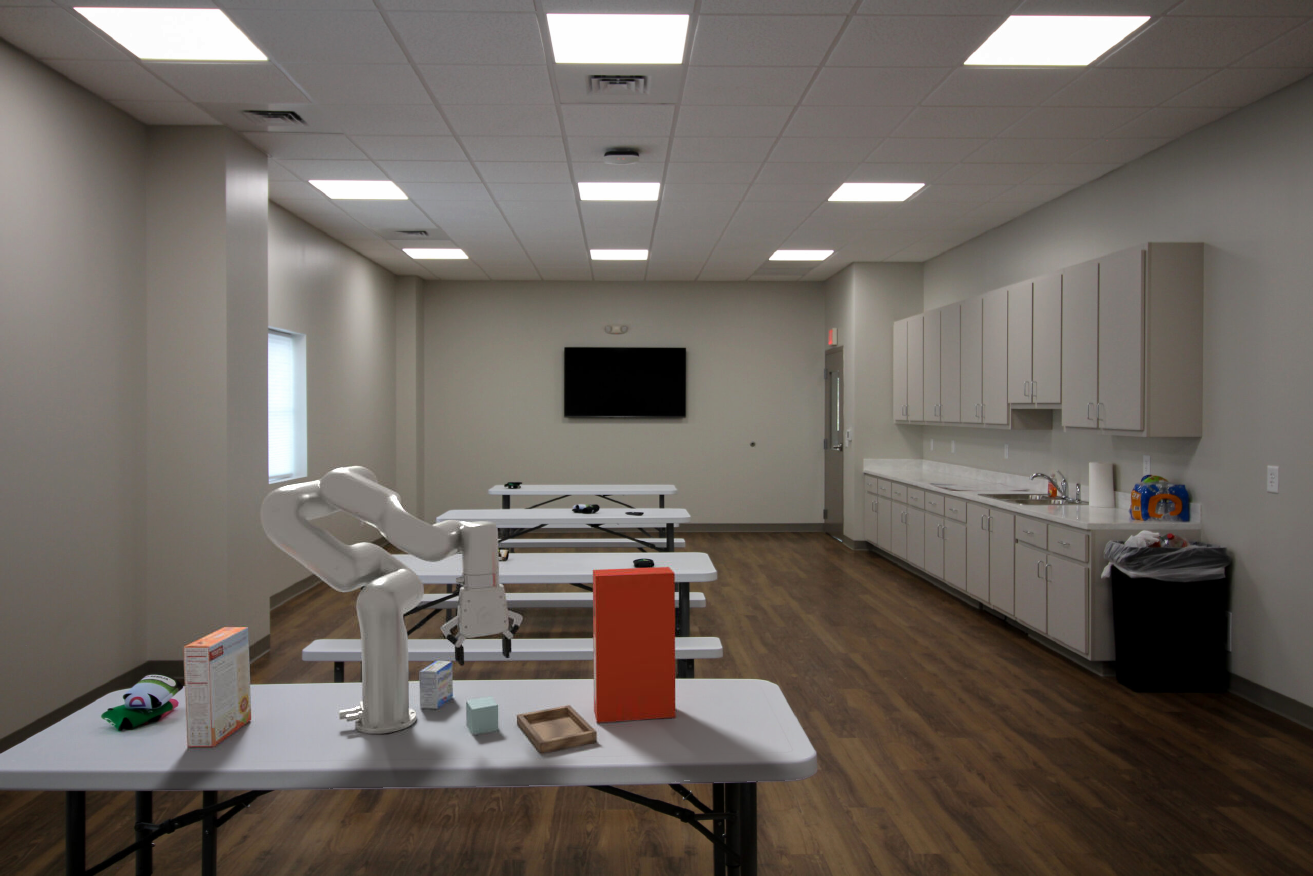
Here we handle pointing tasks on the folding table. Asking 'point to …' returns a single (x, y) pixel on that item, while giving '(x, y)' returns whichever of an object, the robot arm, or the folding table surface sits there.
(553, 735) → the walnut tray
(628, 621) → the tall orange-red block
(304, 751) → the folding table surface
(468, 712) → the teal cube
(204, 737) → the cracker box
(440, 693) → the medicine box
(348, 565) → the robot arm
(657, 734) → the folding table surface
